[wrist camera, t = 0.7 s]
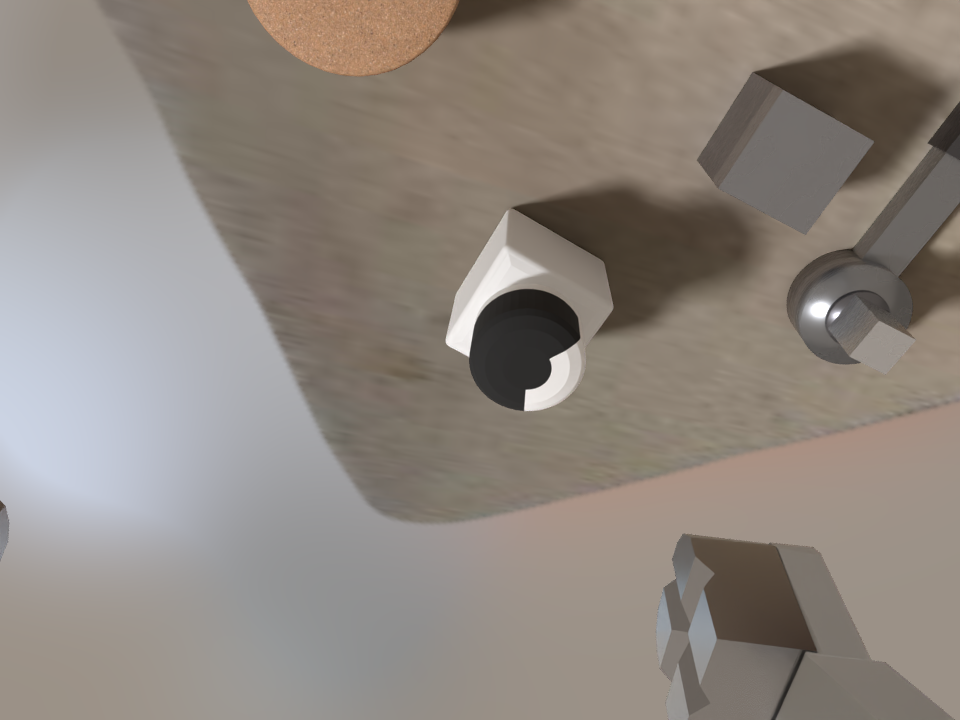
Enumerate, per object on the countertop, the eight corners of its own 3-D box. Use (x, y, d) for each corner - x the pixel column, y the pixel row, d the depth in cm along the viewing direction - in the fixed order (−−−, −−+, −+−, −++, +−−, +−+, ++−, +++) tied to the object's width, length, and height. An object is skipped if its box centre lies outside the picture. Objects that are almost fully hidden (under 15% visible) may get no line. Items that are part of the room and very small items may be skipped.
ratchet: (1026, -28, 40) (1115, -23, 34) (1120, 32, 41) (1223, 47, 35) (766, 316, 50) (798, 368, 44) (847, 357, 51) (889, 414, 45)
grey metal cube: (752, 72, 43) (783, 89, 38) (833, 118, 44) (874, 141, 39) (697, 160, 46) (718, 188, 40) (774, 202, 46) (805, 235, 41)
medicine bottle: (454, 295, 51) (432, 388, 40) (509, 204, 48) (502, 278, 37) (546, 346, 52) (549, 448, 41) (606, 261, 49) (626, 348, 38)
